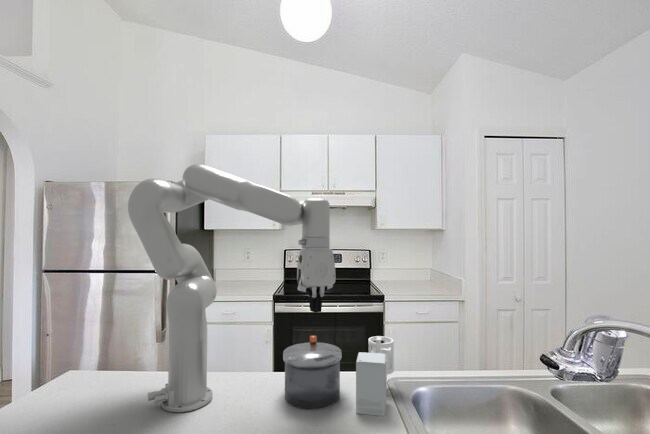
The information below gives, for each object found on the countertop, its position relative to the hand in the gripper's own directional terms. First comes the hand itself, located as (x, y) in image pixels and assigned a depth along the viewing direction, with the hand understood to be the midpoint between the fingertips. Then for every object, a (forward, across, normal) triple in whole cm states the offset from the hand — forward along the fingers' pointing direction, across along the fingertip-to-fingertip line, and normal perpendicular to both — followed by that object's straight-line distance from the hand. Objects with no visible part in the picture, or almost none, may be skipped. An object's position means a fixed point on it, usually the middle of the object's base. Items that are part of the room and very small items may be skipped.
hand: (315, 311), depth 92 cm
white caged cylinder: (+23, +18, -6) cm, 30 cm away
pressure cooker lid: (+13, 0, +2) cm, 13 cm away
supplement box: (+23, +9, -12) cm, 28 cm away
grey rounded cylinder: (+23, 0, +2) cm, 23 cm away
